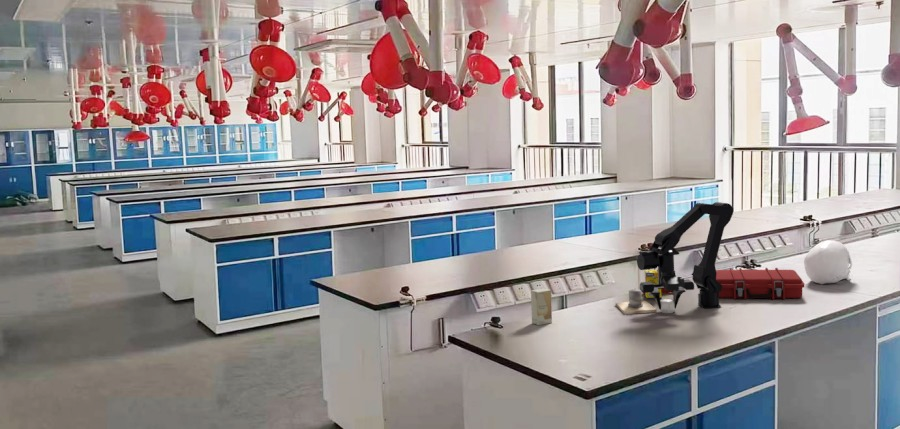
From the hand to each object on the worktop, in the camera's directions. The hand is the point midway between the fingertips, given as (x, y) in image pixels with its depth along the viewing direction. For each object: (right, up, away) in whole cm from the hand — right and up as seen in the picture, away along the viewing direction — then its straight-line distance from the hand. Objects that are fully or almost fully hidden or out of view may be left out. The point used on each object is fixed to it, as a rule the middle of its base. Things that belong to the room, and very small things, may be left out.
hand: (667, 308), depth 271 cm
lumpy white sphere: (+77, +7, +32) cm, 83 cm away
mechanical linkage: (+6, +2, +31) cm, 32 cm away
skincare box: (-47, -5, -5) cm, 47 cm away
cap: (0, -1, 0) cm, 1 cm away
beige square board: (-10, -1, +7) cm, 12 cm away
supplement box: (+1, +1, +22) cm, 22 cm away
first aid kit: (+41, +3, +19) cm, 45 cm away
